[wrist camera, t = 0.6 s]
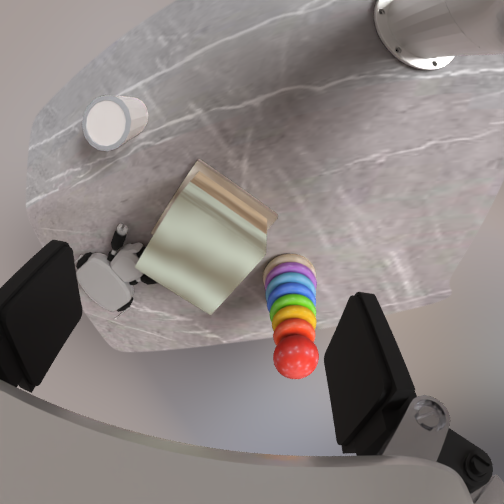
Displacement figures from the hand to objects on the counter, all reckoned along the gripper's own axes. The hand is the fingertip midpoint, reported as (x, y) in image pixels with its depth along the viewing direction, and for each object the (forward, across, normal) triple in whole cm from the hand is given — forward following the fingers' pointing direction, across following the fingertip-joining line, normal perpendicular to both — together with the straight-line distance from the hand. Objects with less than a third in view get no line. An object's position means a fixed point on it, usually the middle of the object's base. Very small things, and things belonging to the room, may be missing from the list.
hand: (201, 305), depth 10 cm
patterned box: (+32, +3, +11) cm, 35 cm away
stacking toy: (+32, -9, +18) cm, 38 cm away
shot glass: (+33, +17, -2) cm, 37 cm away
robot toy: (+33, +18, +22) cm, 44 cm away
